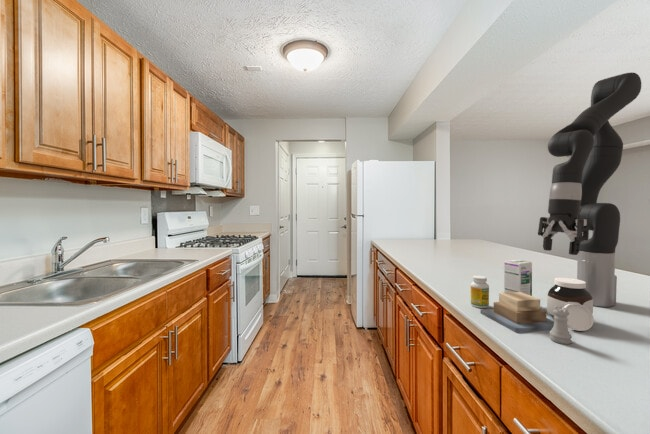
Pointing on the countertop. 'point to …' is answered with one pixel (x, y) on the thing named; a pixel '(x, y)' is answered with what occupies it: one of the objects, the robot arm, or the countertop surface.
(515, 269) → the syrup box
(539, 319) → the block tower
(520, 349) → the countertop surface
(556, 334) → the rook chess piece
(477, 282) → the supplement bottle
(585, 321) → the spread jar
